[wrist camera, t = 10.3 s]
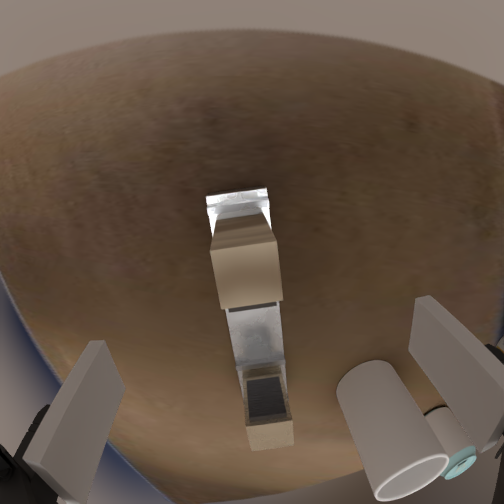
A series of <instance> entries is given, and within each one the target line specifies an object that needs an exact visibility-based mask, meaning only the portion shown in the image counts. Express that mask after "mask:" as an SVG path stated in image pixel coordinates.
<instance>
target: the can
mask: <svg viewBox="0 0 504 504" xmlns="http://www.w3.org/2000/svg"><path fill="white" fill-rule="evenodd" d="M424 417H425V418H426V420H427V422H428V423H429V425H430V427H431V428H432V430H433V431H434V433H435V435H436V436H437V438H438V440H439V441H440V443H441V445H442V446H443V448H444V450H445V452H446V453H447V455H448V457H449V463H448V465H447V467H446V468H445V470H444V471H443V472H442V473H441V474H440V475H441V476H444V477H445V479H451V478H454V477H456V476H458V475H459V474H461V473H462V472H464V471H465V470H466V469H468V467H470V466H471V465H472V464H473V463H474V461H475V460H476V455H475V446H474V444H473V443H472V441H471V440H470V438H469V437H468V435H467V434H466V432H465V431H464V429H463V428H462V426H461V425H460V423H459V422H458V421H457V419H456V418H455V416H454V415H453V413H452V412H451V411H450V409H449V408H447V407H442V408H437V409H434V410H432V411H431V412H429V413H428V414H426V415H425V416H424Z"/></svg>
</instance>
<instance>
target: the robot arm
mask: <svg viewBox="0 0 504 504" xmlns="http://www.w3.org/2000/svg"><path fill="white" fill-rule="evenodd" d="M408 351H409V352H410V353H411V355H412V356H413V357H414V359H415V360H416V362H417V363H418V364H419V366H420V367H421V368H422V370H423V371H424V372H425V374H426V375H427V377H428V378H429V379H430V381H431V382H432V384H433V385H434V386H435V388H436V389H437V391H438V392H439V393H440V395H441V396H442V398H443V399H444V401H445V402H446V403H447V405H448V406H449V408H450V409H451V411H452V412H453V414H454V415H455V417H456V418H457V420H458V421H459V422H460V424H461V425H462V427H463V428H464V430H465V431H466V433H467V435H468V436H469V438H470V439H471V441H472V442H473V444H474V445H475V447H476V448H477V450H478V451H479V453H482V452H484V451H486V450H488V449H489V448H491V447H493V446H494V445H496V443H497V442H498V440H499V439H500V437H501V435H502V434H503V436H504V353H503V352H502V351H501V350H500V349H498V348H496V347H494V346H492V345H490V344H487V345H483V344H482V343H481V342H480V341H479V340H478V339H477V338H476V337H475V336H474V335H473V334H472V333H471V332H470V331H469V330H468V329H467V328H466V327H464V326H463V325H462V324H461V323H460V322H459V321H458V320H457V319H456V318H455V317H454V316H453V315H452V314H450V313H449V312H448V311H447V310H446V309H445V308H444V307H443V306H442V305H440V304H439V303H438V302H437V301H436V300H435V299H434V298H433V297H432V296H430V295H428V296H424V297H419V298H415V307H414V315H413V322H412V329H411V336H410V342H409V348H408ZM125 389H126V388H125V386H124V384H123V382H122V379H121V377H120V375H119V373H118V371H117V368H116V366H115V364H114V361H113V359H112V357H111V354H110V352H109V349H108V347H107V344H106V342H105V340H99V341H90V342H89V343H88V345H87V346H86V348H85V349H84V351H83V353H82V354H81V356H80V357H79V359H78V361H77V362H76V364H75V365H74V367H73V369H72V370H71V372H70V373H69V375H68V377H67V378H66V380H65V382H64V383H63V385H62V387H61V388H60V390H59V392H58V394H57V395H56V397H55V399H54V401H53V402H52V404H51V405H46V406H45V407H44V408H42V409H41V410H40V411H39V412H38V414H37V415H36V417H35V419H34V421H33V424H31V426H30V427H29V429H28V432H27V433H26V435H25V436H24V438H23V440H22V442H21V444H20V446H19V448H18V449H17V451H16V453H15V455H14V457H12V456H11V455H10V454H9V453H8V452H7V450H6V449H5V448H4V447H3V446H2V445H1V444H0V504H58V503H57V502H56V501H57V498H58V496H59V497H61V498H62V499H63V500H64V501H65V502H66V503H67V504H86V502H87V498H88V495H89V492H90V489H91V486H92V482H93V479H94V476H95V473H96V470H97V467H98V464H99V461H100V458H101V455H102V452H103V449H104V446H105V443H106V441H107V438H108V435H109V432H110V429H111V426H112V424H113V421H114V418H115V415H116V413H117V410H118V407H119V405H120V402H121V399H122V397H123V394H124V392H125ZM501 452H502V456H501V462H500V468H499V473H498V479H497V483H496V488H495V492H494V497H493V501H492V504H504V443H503V445H502V446H501V448H500V449H499V451H498V452H497V454H496V456H495V458H496V459H497V458H498V457H499V455H500V454H501Z"/></svg>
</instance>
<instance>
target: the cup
mask: <svg viewBox="0 0 504 504" xmlns="http://www.w3.org/2000/svg"><path fill="white" fill-rule="evenodd" d="M336 395H337V399H338V401H339V404H340V406H341V409H342V411H343V414H344V417H345V419H346V422H347V424H348V427H349V429H350V432H351V435H352V437H353V440H354V442H355V445H356V448H357V450H358V453H359V456H360V458H361V461H362V464H363V466H364V469H365V471H366V474H367V477H368V480H369V482H370V485H371V487H372V490H373V493H374V496H375V497H376V499H377V500H379V501H390V500H395V499H398V498H401V497H404V496H407V495H409V494H411V493H414V492H416V491H417V490H419V489H421V488H422V487H424V486H426V485H427V484H429V483H430V482H432V481H433V480H434V479H435V478H437V477H438V476H439V475H440V474H441V473H442V472H443V471H444V470H445V468H446V467H447V465H448V463H449V457H448V455H447V453H446V452H445V450H444V448H443V446H442V445H441V443H440V441H439V440H438V438H437V436H436V435H435V433H434V431H433V430H432V428H431V427H430V425H429V423H428V422H427V420H426V418H425V417H424V415H423V414H422V412H421V410H420V409H419V407H418V406H417V404H416V402H415V401H414V399H413V398H412V396H411V394H410V393H409V391H408V390H407V388H406V387H405V385H404V384H403V382H402V380H401V379H400V377H399V376H398V374H397V373H396V371H395V370H394V368H393V367H392V365H391V364H389V363H388V362H386V361H382V360H372V361H368V362H364V363H362V364H360V365H358V366H356V367H354V368H353V369H351V370H350V371H349V372H347V373H346V374H345V375H344V376H343V378H342V379H341V380H340V382H339V384H338V386H337V390H336Z"/></svg>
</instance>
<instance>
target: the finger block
mask: <svg viewBox="0 0 504 504" xmlns="http://www.w3.org/2000/svg"><path fill="white" fill-rule="evenodd" d="M210 254H211V259H212V264H213V270H214V275H215V280H216V285H217V290H218V295H219V300H220V305H221V309H228V310H229V313H231V312H238V311H245V310H252V309H259V308H266V307H272V306H277V302H276V301H282V300H283V293H282V284H281V274H280V265H279V256H278V247H277V240H276V238H275V236H274V234H273V232H272V230H271V228H270V226H269V224H268V221H267V219H266V217H265V215H264V213H261V214H254V215H247V216H241V217H234V218H227V219H221V220H216V223H215V228H214V233H213V238H212V243H211V248H210Z"/></svg>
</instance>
